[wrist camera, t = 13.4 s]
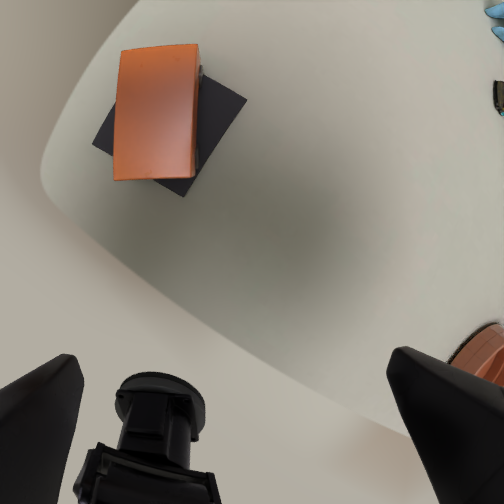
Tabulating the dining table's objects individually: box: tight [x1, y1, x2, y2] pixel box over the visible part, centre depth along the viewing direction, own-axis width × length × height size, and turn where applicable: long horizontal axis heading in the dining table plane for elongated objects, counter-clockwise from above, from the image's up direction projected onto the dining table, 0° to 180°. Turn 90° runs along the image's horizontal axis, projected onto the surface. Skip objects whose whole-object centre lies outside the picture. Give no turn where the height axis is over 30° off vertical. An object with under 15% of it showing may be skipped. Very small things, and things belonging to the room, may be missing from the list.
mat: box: [92, 75, 247, 197], centre depth 15 cm, size 7×7×1 cm
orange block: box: [113, 44, 203, 181], centre depth 14 cm, size 7×4×3 cm, turn 178°
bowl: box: [450, 324, 504, 387], centre depth 24 cm, size 13×13×4 cm
